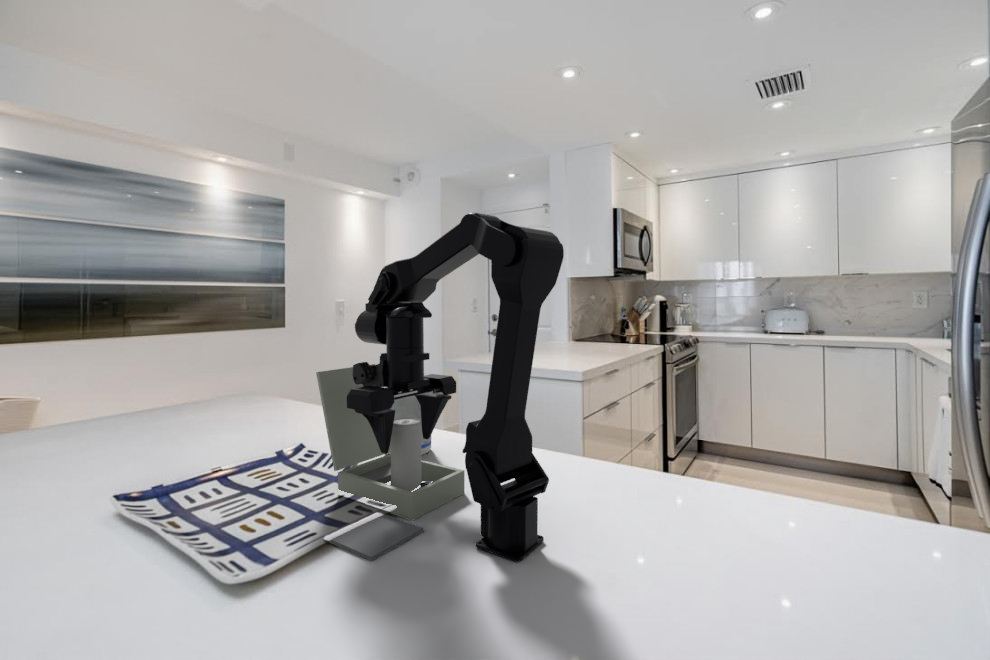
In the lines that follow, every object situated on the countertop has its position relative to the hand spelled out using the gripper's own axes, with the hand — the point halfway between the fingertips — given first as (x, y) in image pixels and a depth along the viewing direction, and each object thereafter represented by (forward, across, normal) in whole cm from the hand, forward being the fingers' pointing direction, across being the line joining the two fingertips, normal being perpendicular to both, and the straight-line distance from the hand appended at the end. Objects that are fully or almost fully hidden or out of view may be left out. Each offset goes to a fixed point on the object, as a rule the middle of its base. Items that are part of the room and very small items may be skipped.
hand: (406, 445), depth 77 cm
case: (+8, 0, -1) cm, 8 cm away
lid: (-4, 0, -11) cm, 12 cm away
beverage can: (+8, 0, 0) cm, 8 cm away
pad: (+8, +12, +6) cm, 16 cm away
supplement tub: (+8, -17, -16) cm, 25 cm away
